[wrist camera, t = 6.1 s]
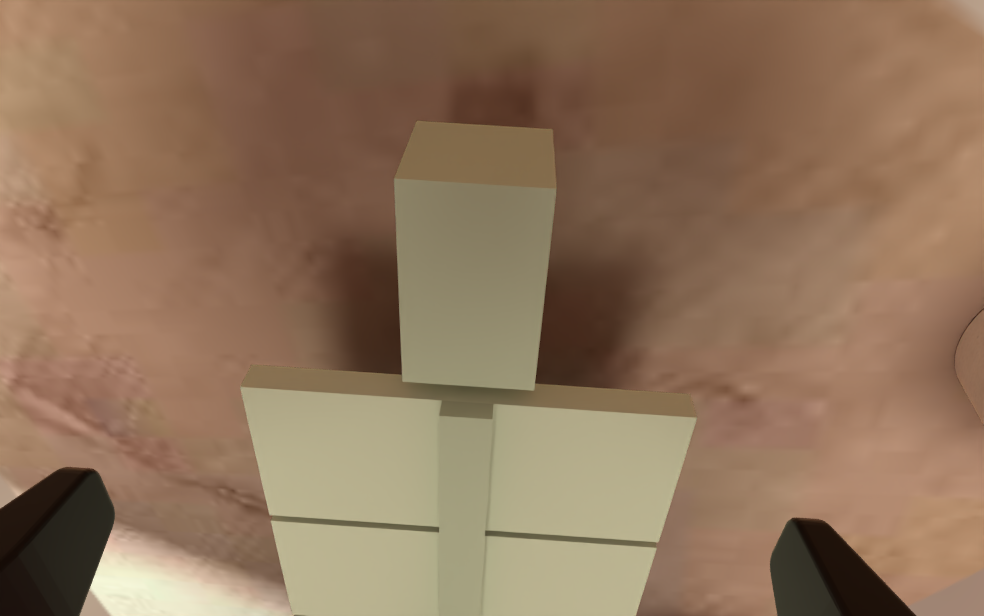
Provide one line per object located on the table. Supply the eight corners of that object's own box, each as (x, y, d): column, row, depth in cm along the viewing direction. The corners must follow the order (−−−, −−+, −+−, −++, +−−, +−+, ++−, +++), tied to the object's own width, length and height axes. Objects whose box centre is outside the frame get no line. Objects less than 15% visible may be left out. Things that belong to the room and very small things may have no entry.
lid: (598, 630, 26) (606, 727, 24) (330, 611, 27) (305, 704, 24) (725, 139, 15) (772, 215, 12) (245, 110, 15) (177, 177, 12)
